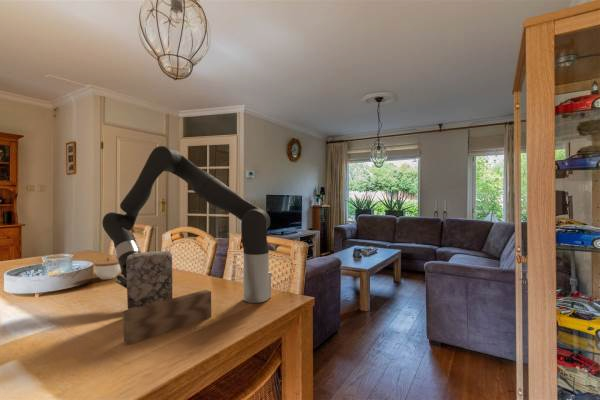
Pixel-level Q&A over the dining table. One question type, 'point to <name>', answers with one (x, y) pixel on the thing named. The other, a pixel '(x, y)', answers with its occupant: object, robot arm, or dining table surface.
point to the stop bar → (165, 316)
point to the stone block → (148, 278)
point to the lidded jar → (107, 268)
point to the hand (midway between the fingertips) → (143, 297)
